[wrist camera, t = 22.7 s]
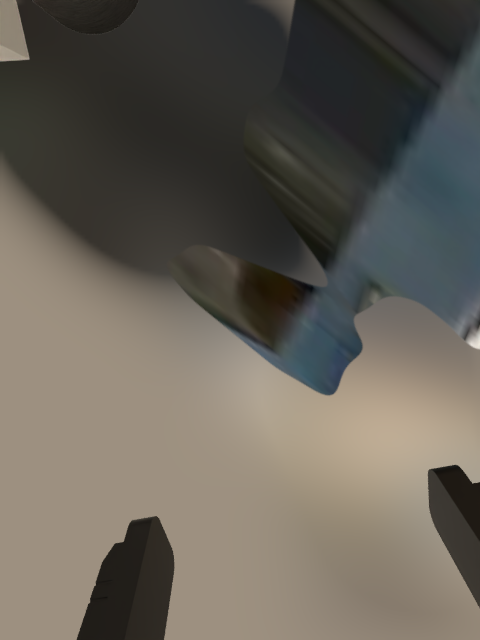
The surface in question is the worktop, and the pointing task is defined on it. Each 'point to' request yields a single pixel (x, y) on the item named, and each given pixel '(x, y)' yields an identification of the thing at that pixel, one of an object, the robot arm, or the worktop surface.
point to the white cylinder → (89, 13)
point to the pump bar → (11, 33)
